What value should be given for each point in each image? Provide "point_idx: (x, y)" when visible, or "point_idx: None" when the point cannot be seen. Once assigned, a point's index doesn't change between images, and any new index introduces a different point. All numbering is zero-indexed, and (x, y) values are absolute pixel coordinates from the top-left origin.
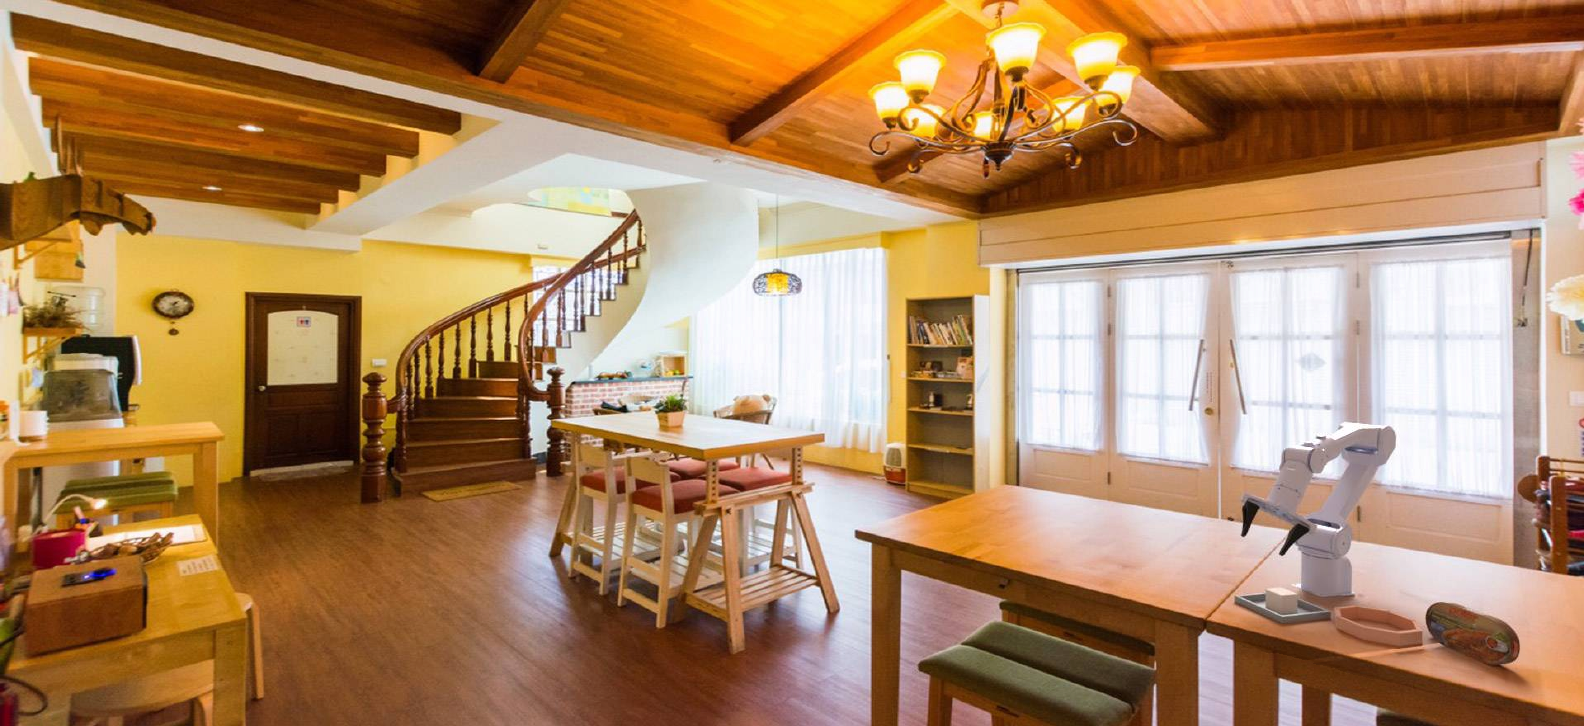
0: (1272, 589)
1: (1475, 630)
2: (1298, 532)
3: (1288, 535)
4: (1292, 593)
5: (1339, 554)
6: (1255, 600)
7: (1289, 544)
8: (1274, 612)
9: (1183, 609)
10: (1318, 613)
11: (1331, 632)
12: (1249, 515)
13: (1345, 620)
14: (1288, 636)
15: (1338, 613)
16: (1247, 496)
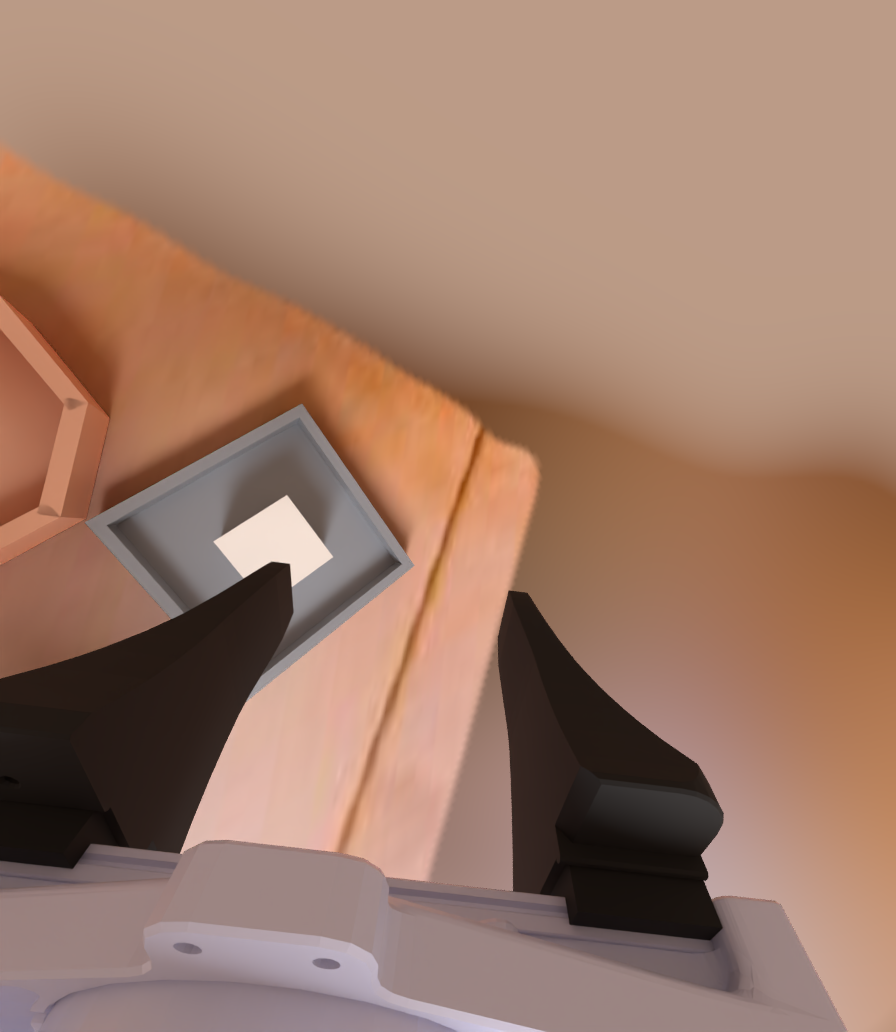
0: (307, 561)
1: None
2: (117, 664)
3: (201, 767)
4: (235, 539)
5: None
6: (343, 603)
7: (232, 594)
8: (319, 439)
9: (528, 468)
10: (149, 488)
11: (135, 400)
12: (584, 687)
13: (59, 366)
14: (297, 333)
15: (65, 440)
16: (780, 1004)
